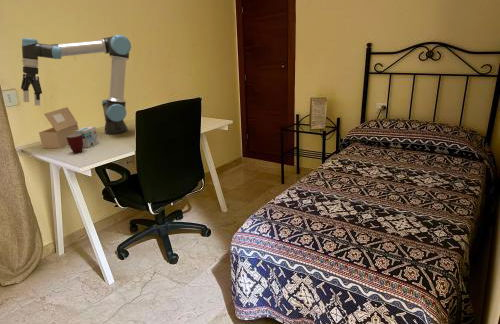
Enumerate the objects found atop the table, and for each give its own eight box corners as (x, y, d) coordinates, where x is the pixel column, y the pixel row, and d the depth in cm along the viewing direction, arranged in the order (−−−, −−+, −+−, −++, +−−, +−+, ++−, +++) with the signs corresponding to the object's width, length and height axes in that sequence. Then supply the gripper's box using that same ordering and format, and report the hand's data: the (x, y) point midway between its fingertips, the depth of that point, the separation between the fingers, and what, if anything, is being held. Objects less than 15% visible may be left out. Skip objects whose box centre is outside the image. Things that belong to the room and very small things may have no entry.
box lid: (77, 123, 225) (78, 123, 225) (56, 131, 207) (56, 131, 206) (66, 107, 222) (67, 106, 222) (44, 114, 204) (45, 113, 204)
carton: (80, 139, 229) (77, 124, 225) (60, 148, 210) (56, 132, 207) (64, 139, 231) (61, 124, 227) (42, 148, 212) (38, 132, 209)
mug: (73, 149, 207) (69, 133, 203) (87, 148, 208) (84, 132, 205) (68, 154, 197) (64, 138, 194) (83, 153, 199) (79, 136, 195)
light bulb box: (88, 148, 208) (84, 130, 205) (78, 147, 210) (74, 130, 206) (99, 142, 218) (95, 126, 214) (89, 142, 220) (86, 126, 216)
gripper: (13, 63, 201) (15, 100, 206) (34, 68, 188) (35, 107, 193) (27, 65, 207) (28, 100, 212) (48, 69, 194) (49, 106, 199)
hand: (31, 103), depth 203 cm, fingers open, 13 cm apart
